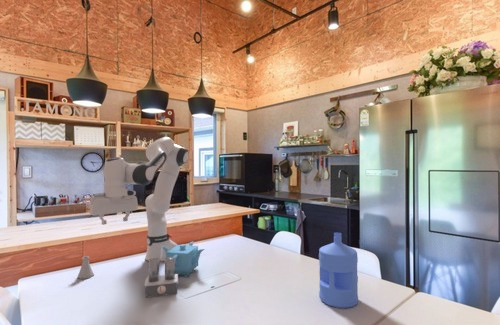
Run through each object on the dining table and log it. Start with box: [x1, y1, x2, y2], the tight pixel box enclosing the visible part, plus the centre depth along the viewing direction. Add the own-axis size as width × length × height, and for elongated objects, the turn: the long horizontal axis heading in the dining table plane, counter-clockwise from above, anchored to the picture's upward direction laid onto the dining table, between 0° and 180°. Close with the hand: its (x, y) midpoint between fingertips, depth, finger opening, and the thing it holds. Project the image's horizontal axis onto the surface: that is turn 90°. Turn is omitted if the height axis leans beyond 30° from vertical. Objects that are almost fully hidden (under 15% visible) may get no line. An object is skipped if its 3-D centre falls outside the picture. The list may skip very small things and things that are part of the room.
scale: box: [144, 274, 179, 298], centre depth 128 cm, size 14×9×6 cm, turn 105°
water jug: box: [318, 232, 359, 309], centre depth 120 cm, size 16×16×28 cm
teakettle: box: [161, 241, 206, 278], centre depth 151 cm, size 19×19×15 cm
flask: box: [77, 255, 95, 280], centre depth 146 cm, size 7×7×10 cm
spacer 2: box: [164, 257, 175, 280], centre depth 129 cm, size 4×4×9 cm
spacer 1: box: [148, 258, 160, 282], centre depth 127 cm, size 4×4×9 cm
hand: (115, 222), depth 130 cm, fingers open, 8 cm apart
